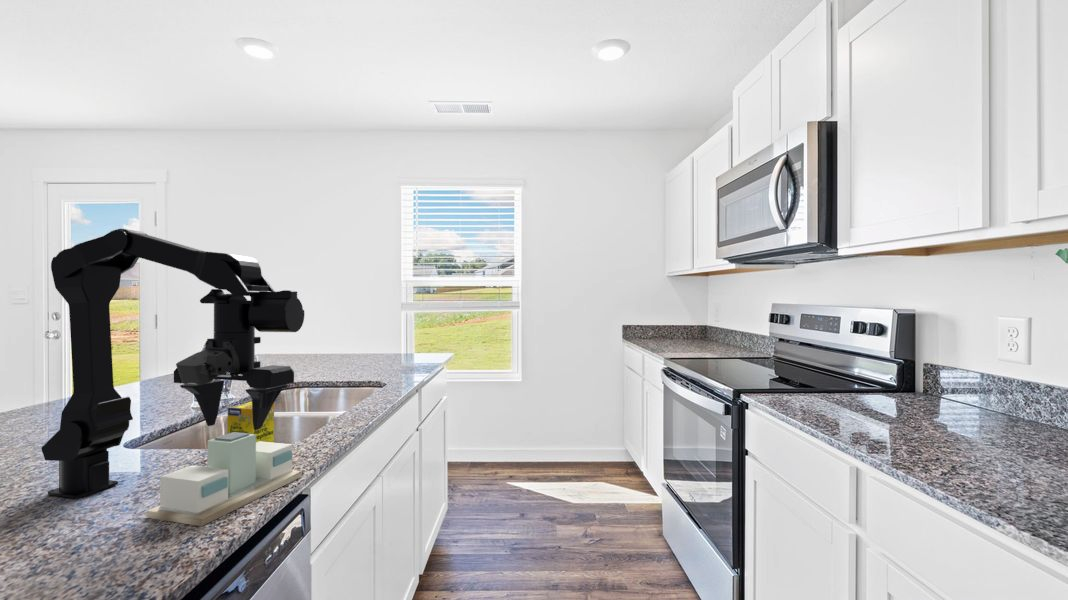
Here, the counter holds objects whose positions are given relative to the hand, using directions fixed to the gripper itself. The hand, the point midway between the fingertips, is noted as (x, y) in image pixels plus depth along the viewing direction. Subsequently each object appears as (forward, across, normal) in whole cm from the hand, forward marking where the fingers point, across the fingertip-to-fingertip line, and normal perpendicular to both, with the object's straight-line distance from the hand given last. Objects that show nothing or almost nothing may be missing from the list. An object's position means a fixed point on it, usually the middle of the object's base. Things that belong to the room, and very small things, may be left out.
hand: (233, 427), depth 80 cm
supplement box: (+11, -11, +15) cm, 22 cm away
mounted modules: (+10, 0, 0) cm, 10 cm away
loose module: (+10, 0, 0) cm, 10 cm away
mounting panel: (+11, 0, 0) cm, 11 cm away
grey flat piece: (+11, 0, 0) cm, 11 cm away
